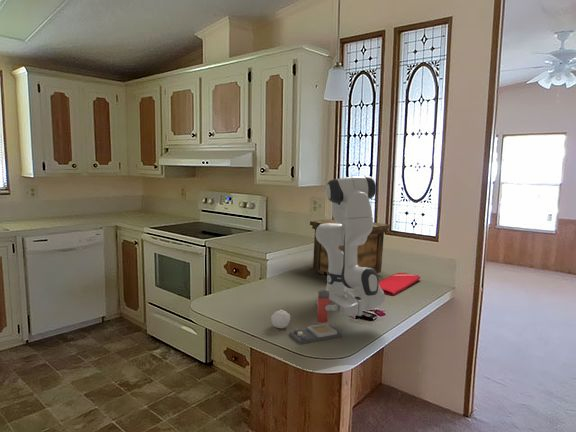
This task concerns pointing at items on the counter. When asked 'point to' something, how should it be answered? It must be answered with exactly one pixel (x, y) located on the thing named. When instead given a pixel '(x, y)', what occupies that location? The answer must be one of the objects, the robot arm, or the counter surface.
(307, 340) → the control panel
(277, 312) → the white swirled ball
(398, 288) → the red flat block
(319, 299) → the red cylinder with cap
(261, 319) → the counter surface
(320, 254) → the crate
